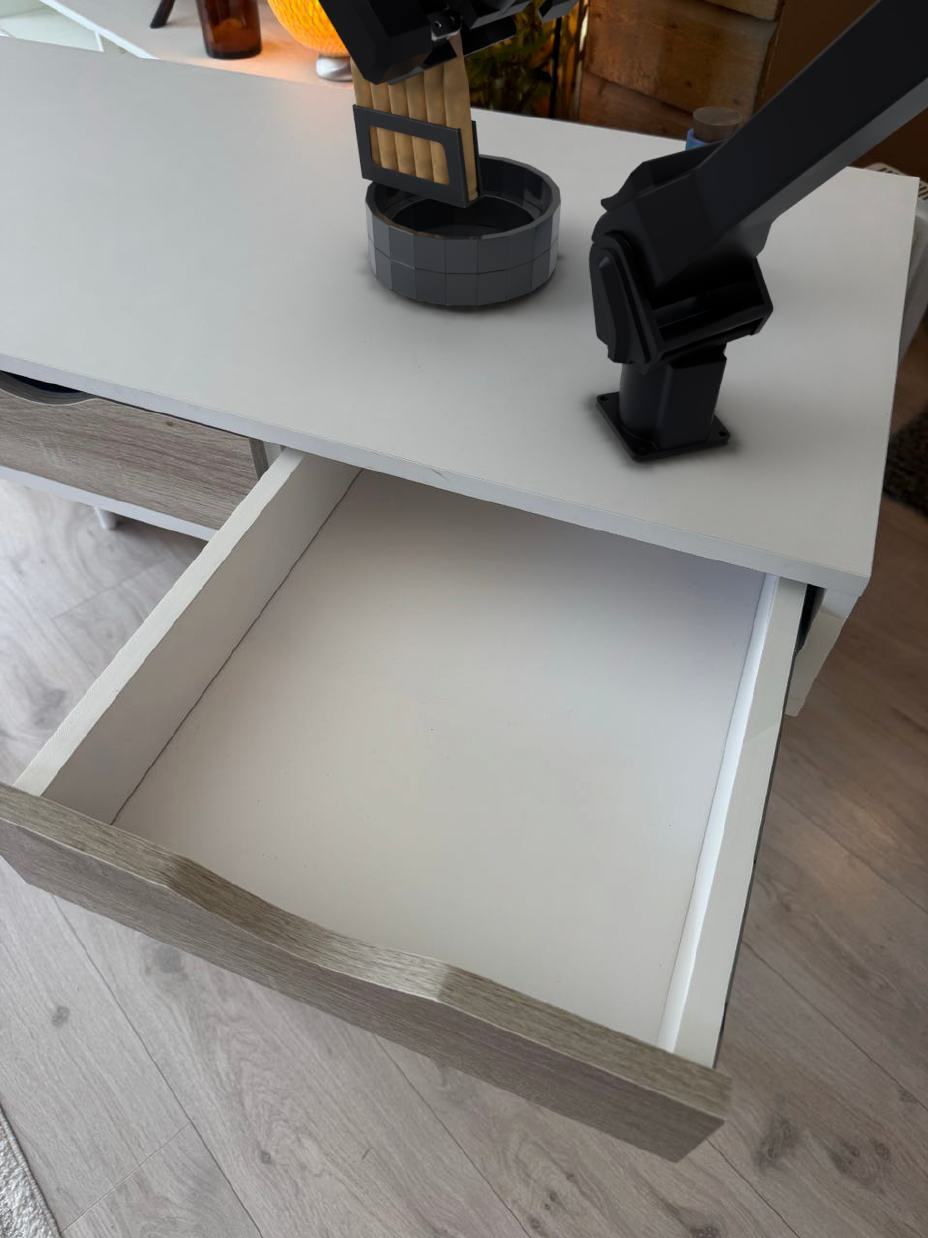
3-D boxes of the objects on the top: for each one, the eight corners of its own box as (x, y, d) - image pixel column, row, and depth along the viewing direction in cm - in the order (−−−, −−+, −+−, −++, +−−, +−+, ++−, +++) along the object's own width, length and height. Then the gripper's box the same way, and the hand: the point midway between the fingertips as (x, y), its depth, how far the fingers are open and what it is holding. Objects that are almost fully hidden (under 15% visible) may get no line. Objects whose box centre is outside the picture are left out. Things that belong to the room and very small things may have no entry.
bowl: (582, 296, 69) (590, 223, 65) (396, 326, 66) (392, 252, 62) (519, 212, 78) (522, 143, 74) (353, 235, 75) (347, 165, 71)
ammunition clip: (484, 198, 66) (470, -1, 57) (467, 208, 65) (449, 7, 56) (378, 168, 71) (351, -18, 62) (361, 177, 70) (330, -10, 61)
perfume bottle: (680, 317, 67) (714, 142, 58) (626, 280, 70) (650, 109, 61) (744, 294, 69) (786, 121, 60) (689, 259, 73) (720, 91, 64)
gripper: (562, -275, 53) (428, -68, 66) (314, -244, 44) (216, -11, 57) (658, -83, 55) (510, 80, 68) (441, -15, 46) (319, 158, 59)
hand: (397, 74), depth 63 cm, fingers closed on ammunition clip, 2 cm apart
